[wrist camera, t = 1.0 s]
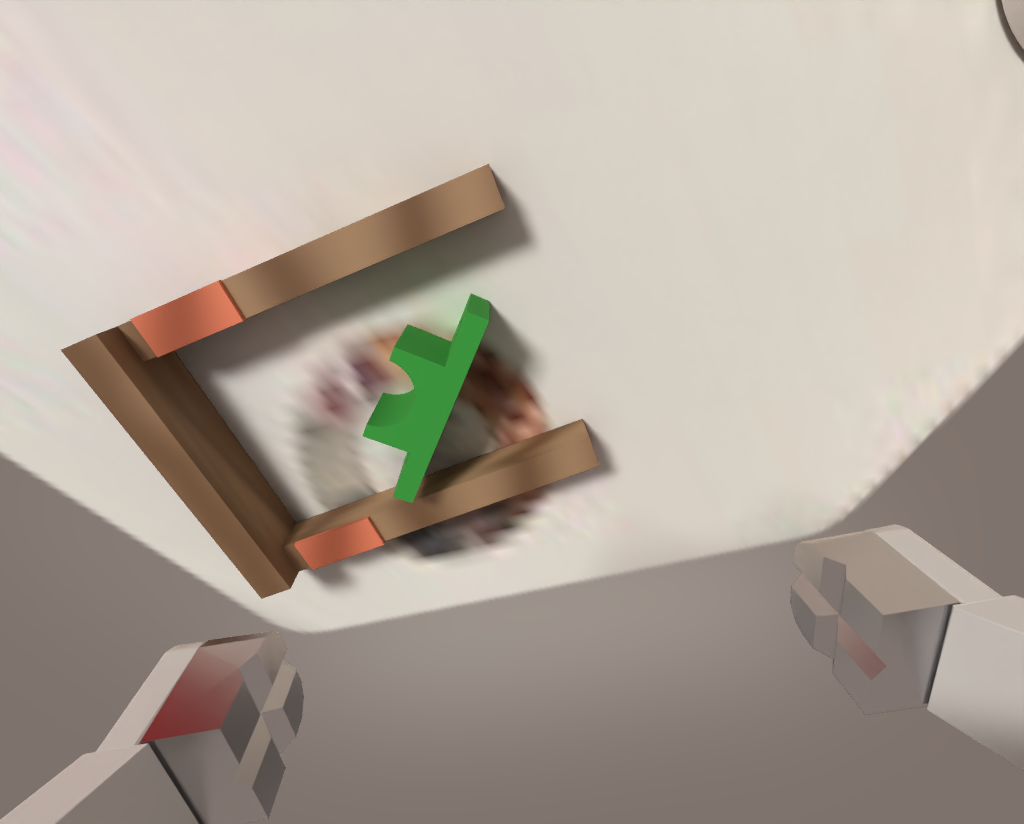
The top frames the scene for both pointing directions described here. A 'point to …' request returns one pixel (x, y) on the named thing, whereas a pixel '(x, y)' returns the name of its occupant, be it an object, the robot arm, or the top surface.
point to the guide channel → (222, 460)
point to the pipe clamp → (426, 392)
